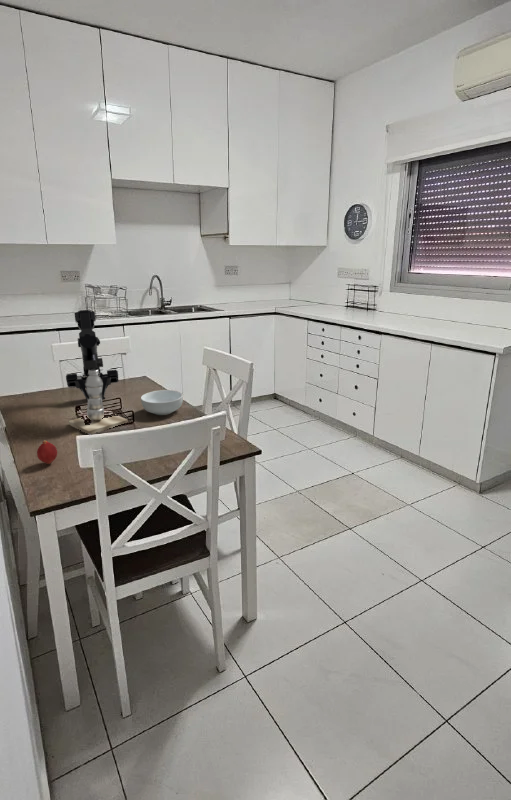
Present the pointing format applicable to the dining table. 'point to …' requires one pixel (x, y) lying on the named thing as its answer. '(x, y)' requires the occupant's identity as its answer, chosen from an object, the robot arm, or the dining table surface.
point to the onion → (47, 452)
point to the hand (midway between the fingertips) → (95, 397)
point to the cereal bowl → (162, 401)
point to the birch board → (98, 424)
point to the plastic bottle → (94, 395)
